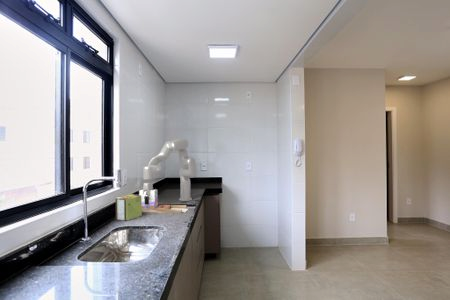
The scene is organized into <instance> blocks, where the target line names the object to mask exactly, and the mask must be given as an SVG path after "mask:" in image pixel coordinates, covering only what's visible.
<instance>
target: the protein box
mask: <svg viewBox="0 0 450 300" xmlns="http://www.w3.org/2000/svg"><path fill="white" fill-rule="evenodd" d="M142 214H143V212H142V203H141V195H139V194H128V195H127V194H125V195H122V196H119V197H115V220H117V221H123V220H125V221H126V220H128V221H130V220H129V219H131V220H134V219H136V218H139V217H142V216H143V215H142ZM126 222H127V221H126Z"/></svg>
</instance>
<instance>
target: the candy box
mask: <svg viewBox="0 0 450 300" xmlns="http://www.w3.org/2000/svg"><path fill="white" fill-rule="evenodd" d="M138 195H141V203H142V208H144V209H157V208H158V205H159V203H158V189H153V190H150V194H149V197H148V199H149V204H145V199H144V196H143V188H141V189H140V190H138Z"/></svg>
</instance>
